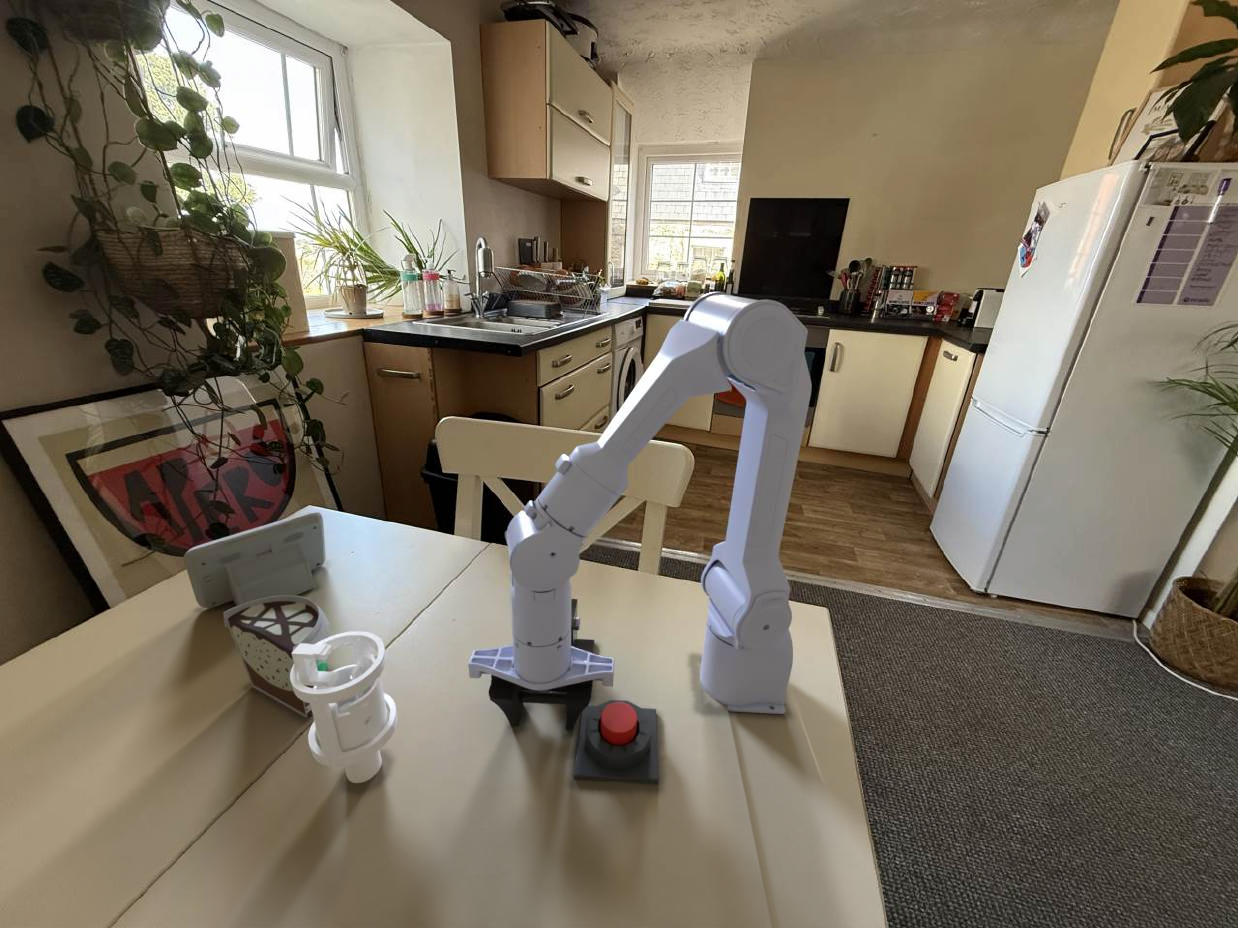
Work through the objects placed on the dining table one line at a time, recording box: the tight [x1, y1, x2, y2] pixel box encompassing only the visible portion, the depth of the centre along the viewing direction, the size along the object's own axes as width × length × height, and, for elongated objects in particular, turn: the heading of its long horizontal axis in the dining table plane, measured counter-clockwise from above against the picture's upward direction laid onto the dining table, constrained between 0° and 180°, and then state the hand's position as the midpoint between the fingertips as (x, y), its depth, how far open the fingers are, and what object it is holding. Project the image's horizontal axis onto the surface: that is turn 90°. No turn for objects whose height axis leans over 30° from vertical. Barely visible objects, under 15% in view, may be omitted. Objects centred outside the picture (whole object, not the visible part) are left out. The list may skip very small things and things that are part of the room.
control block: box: [573, 699, 660, 785], centre depth 50 cm, size 8×8×3 cm
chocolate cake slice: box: [222, 595, 330, 719], centre depth 55 cm, size 12×6×10 cm, turn 65°
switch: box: [520, 689, 567, 706], centre depth 55 cm, size 10×5×2 cm
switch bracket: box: [522, 598, 595, 692], centre depth 58 cm, size 8×9×9 cm
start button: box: [601, 702, 637, 746], centre depth 49 cm, size 4×4×2 cm
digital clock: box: [183, 511, 327, 609], centre depth 69 cm, size 16×9×11 cm, turn 127°
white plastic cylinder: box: [290, 630, 398, 784], centre depth 44 cm, size 7×7×15 cm
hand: (543, 726), depth 53 cm, fingers open, 5 cm apart
